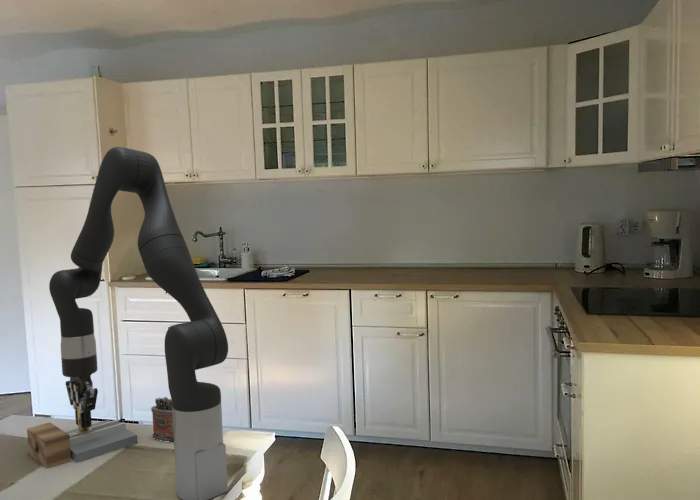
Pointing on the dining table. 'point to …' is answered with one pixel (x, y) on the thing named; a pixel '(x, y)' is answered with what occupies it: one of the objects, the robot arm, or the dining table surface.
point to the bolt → (81, 430)
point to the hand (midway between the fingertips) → (83, 425)
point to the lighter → (163, 420)
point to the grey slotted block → (101, 440)
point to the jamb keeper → (49, 445)
